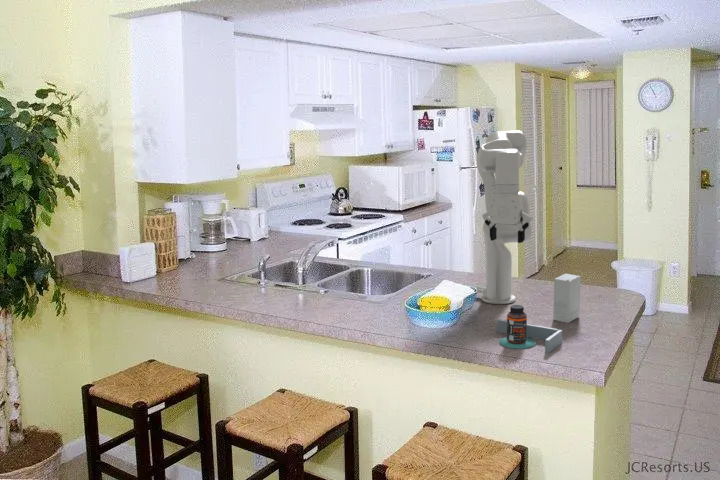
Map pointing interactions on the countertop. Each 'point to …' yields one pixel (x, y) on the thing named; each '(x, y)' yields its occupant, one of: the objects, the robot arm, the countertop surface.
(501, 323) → the divider wall
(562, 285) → the skincare box
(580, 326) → the countertop surface
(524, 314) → the supplement bottle
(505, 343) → the pad
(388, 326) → the countertop surface
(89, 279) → the countertop surface
